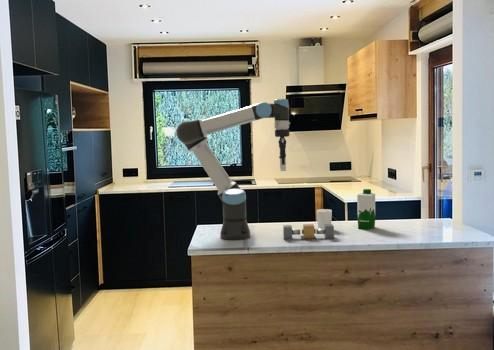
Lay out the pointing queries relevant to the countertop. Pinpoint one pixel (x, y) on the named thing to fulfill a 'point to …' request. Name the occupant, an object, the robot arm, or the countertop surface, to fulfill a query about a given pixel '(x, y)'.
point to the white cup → (323, 217)
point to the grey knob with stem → (327, 231)
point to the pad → (308, 238)
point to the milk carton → (366, 209)
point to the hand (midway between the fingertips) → (283, 169)
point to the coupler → (308, 231)
